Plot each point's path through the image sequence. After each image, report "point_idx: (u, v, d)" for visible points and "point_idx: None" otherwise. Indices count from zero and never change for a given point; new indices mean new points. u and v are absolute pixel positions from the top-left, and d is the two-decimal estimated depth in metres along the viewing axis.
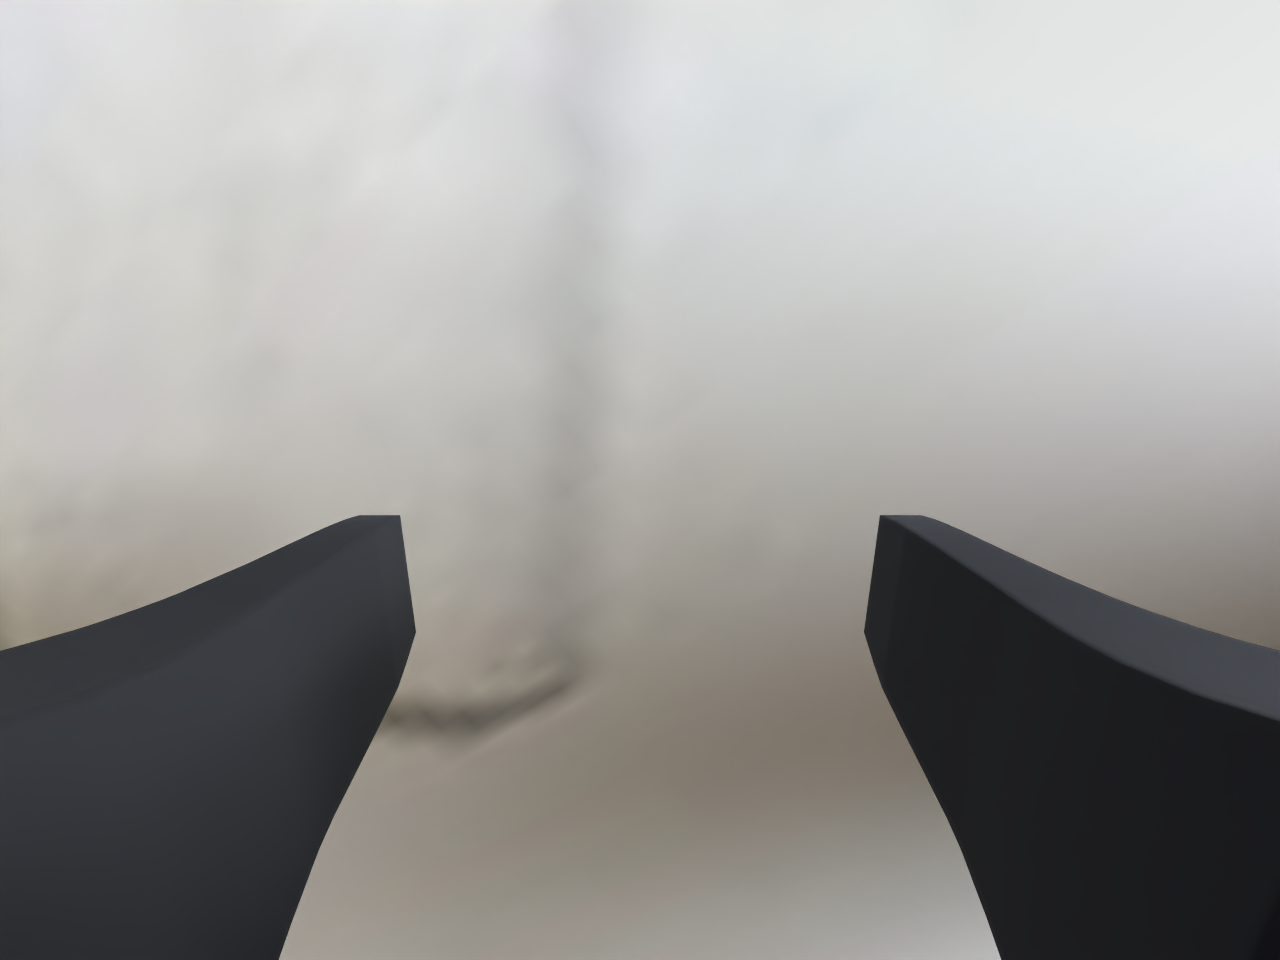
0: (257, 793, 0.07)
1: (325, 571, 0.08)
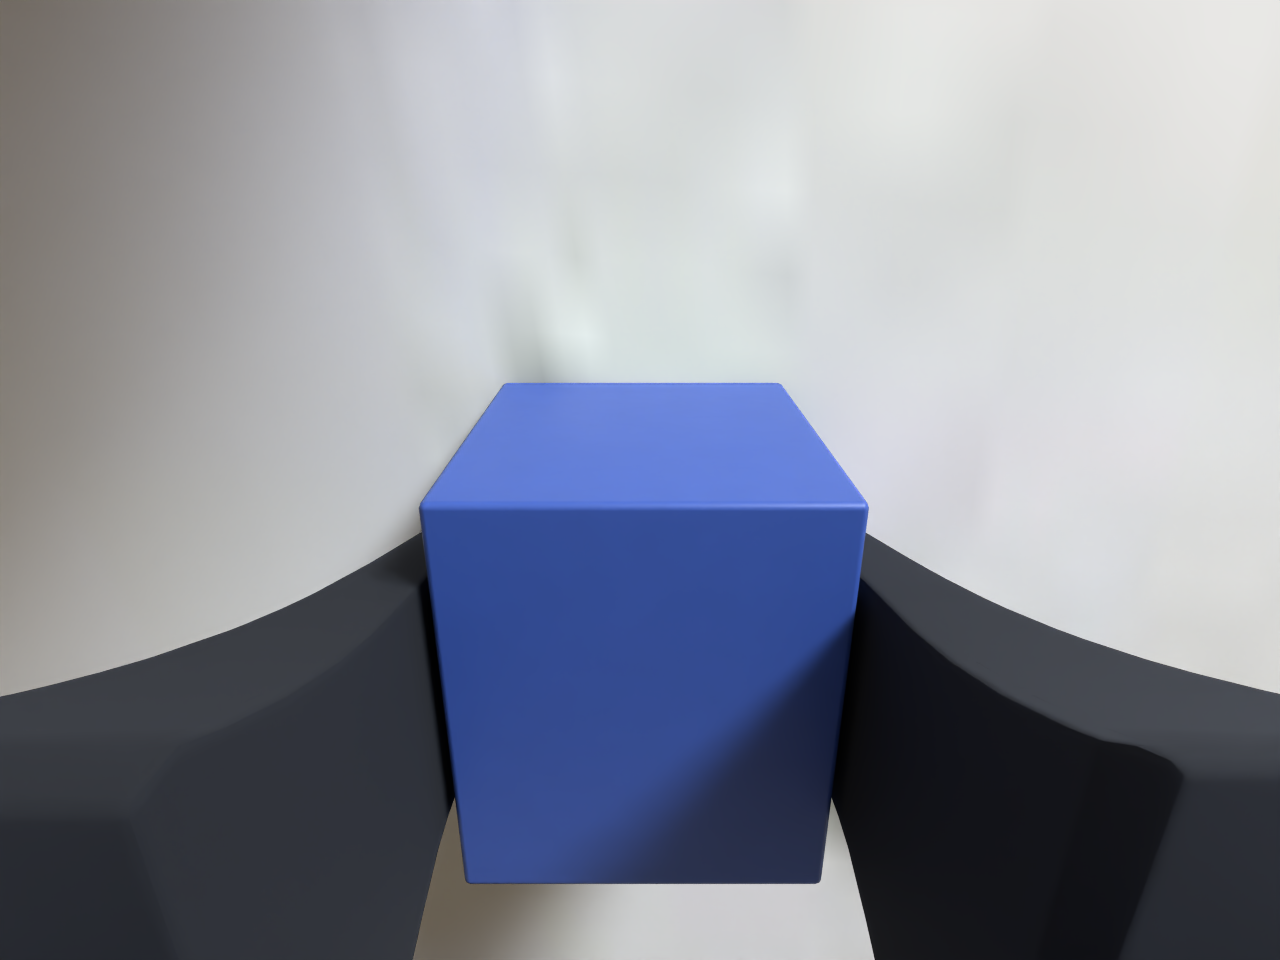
0: (399, 793, 0.07)
1: None
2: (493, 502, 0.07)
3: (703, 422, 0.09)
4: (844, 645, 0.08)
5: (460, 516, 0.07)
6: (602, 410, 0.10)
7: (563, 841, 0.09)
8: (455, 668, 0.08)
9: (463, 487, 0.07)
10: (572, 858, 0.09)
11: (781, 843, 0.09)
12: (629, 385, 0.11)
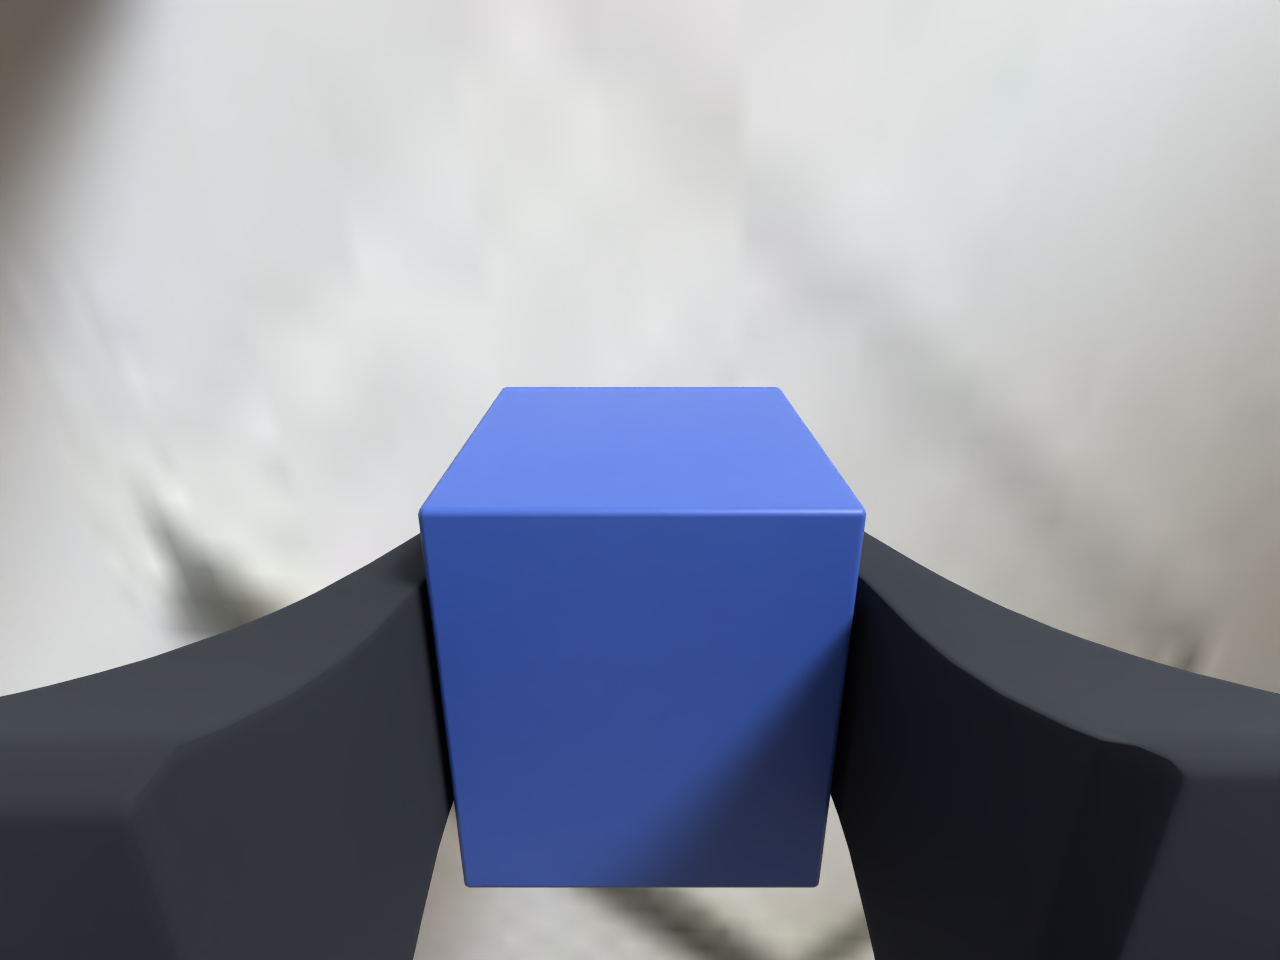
0: (399, 793, 0.07)
1: None
2: (492, 508, 0.07)
3: (701, 427, 0.10)
4: (841, 650, 0.08)
5: (459, 523, 0.07)
6: (601, 415, 0.10)
7: (561, 845, 0.09)
8: (454, 673, 0.08)
9: (462, 493, 0.07)
10: (571, 861, 0.09)
11: (779, 847, 0.09)
12: (628, 389, 0.11)
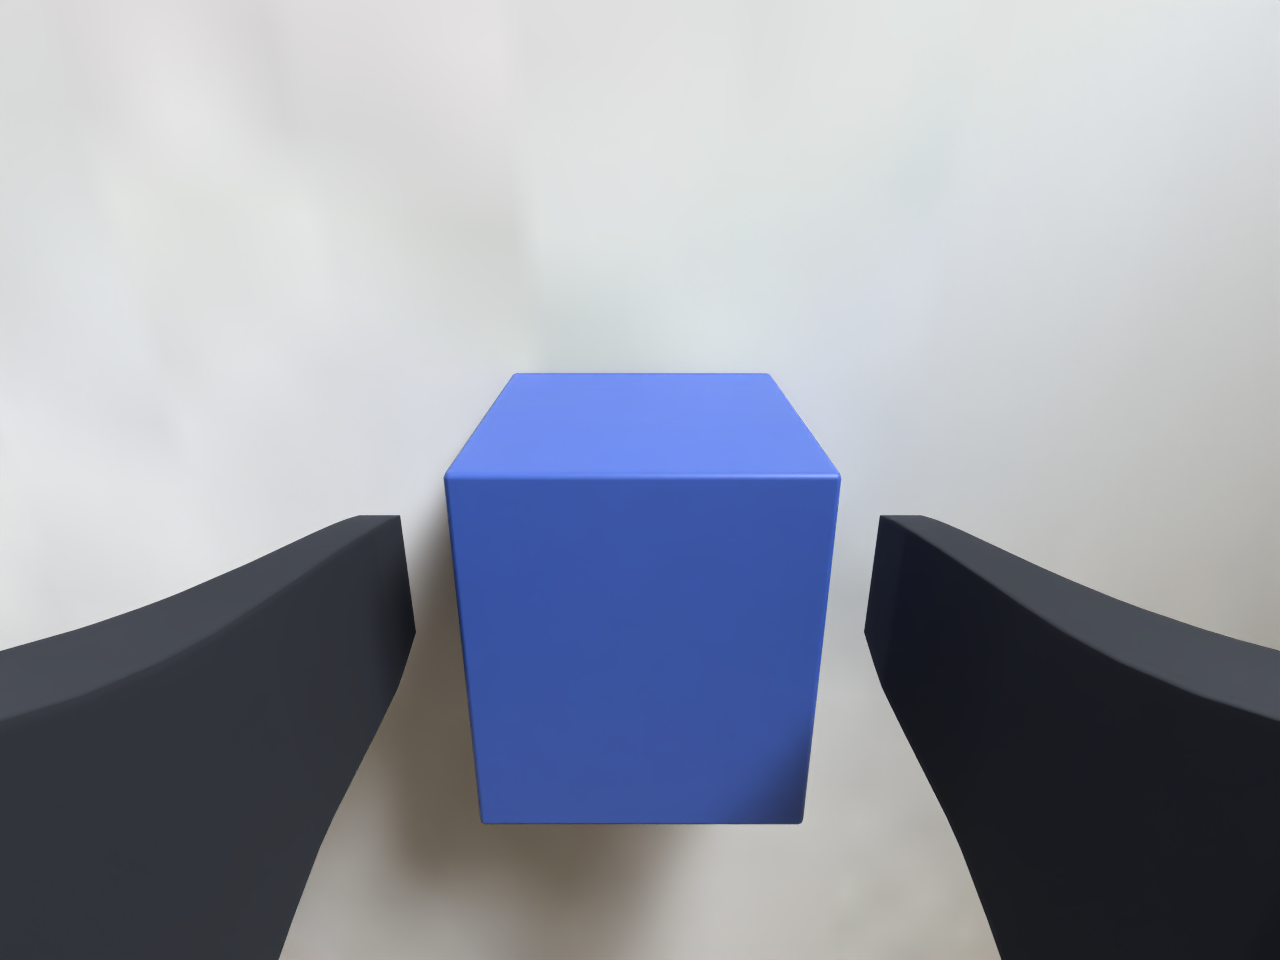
0: (257, 792, 0.07)
1: (325, 571, 0.08)
2: (508, 473, 0.08)
3: (696, 407, 0.10)
4: (821, 602, 0.09)
5: (479, 486, 0.08)
6: (604, 397, 0.11)
7: (568, 784, 0.10)
8: (474, 623, 0.09)
9: (482, 460, 0.08)
10: (578, 799, 0.10)
11: (766, 786, 0.10)
12: (629, 375, 0.12)
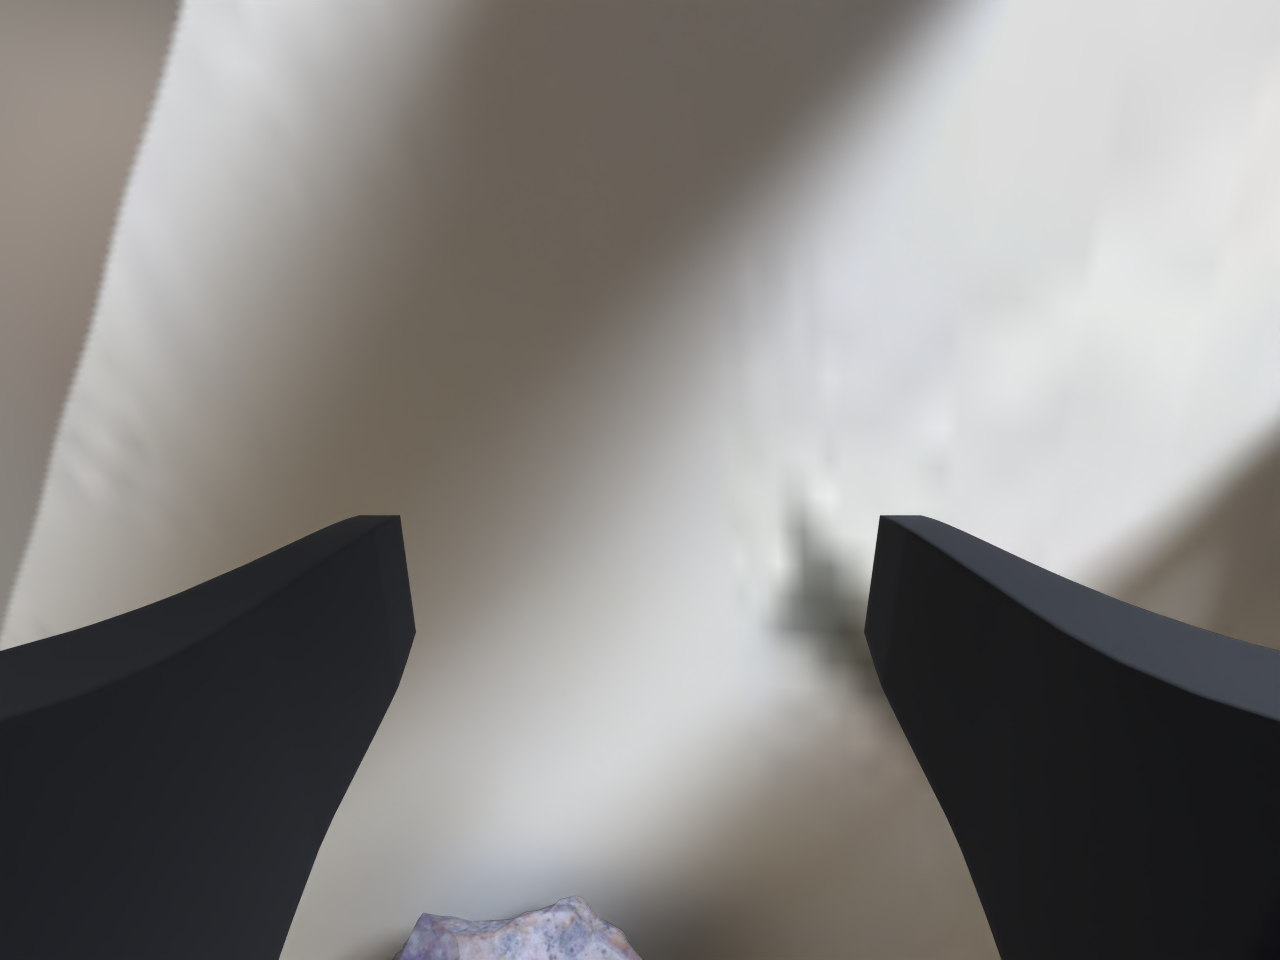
0: (257, 793, 0.07)
1: (325, 571, 0.08)
2: None
3: None
4: None
5: None
6: None
7: None
8: None
9: None
10: None
11: None
12: None
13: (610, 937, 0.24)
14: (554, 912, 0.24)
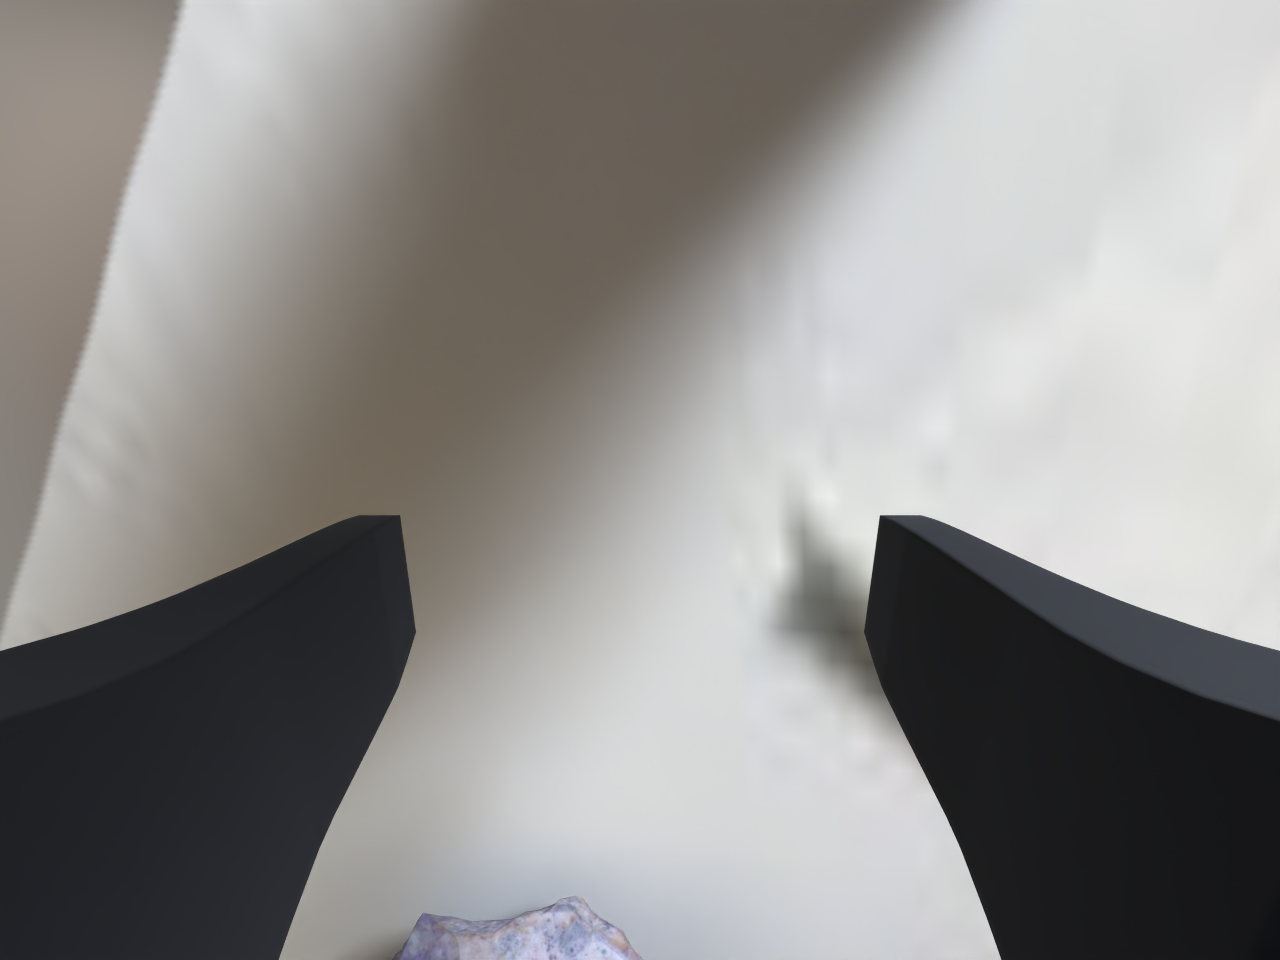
0: (257, 793, 0.07)
1: (325, 571, 0.08)
2: None
3: None
4: None
5: None
6: None
7: None
8: None
9: None
10: None
11: None
12: None
13: (610, 937, 0.24)
14: (554, 912, 0.24)
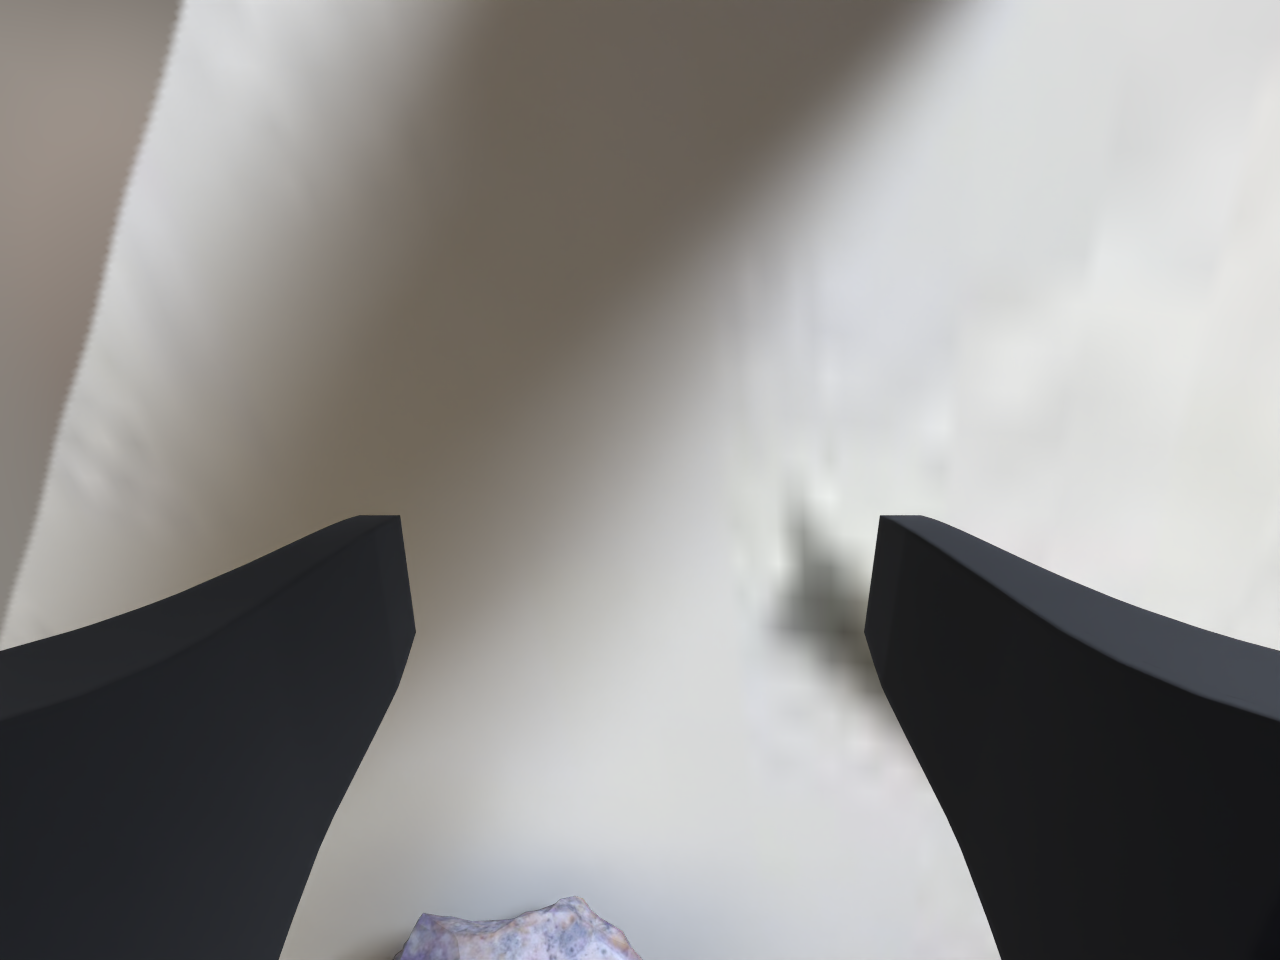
0: (257, 793, 0.07)
1: (325, 571, 0.08)
2: None
3: None
4: None
5: None
6: None
7: None
8: None
9: None
10: None
11: None
12: None
13: (610, 937, 0.24)
14: (554, 912, 0.24)
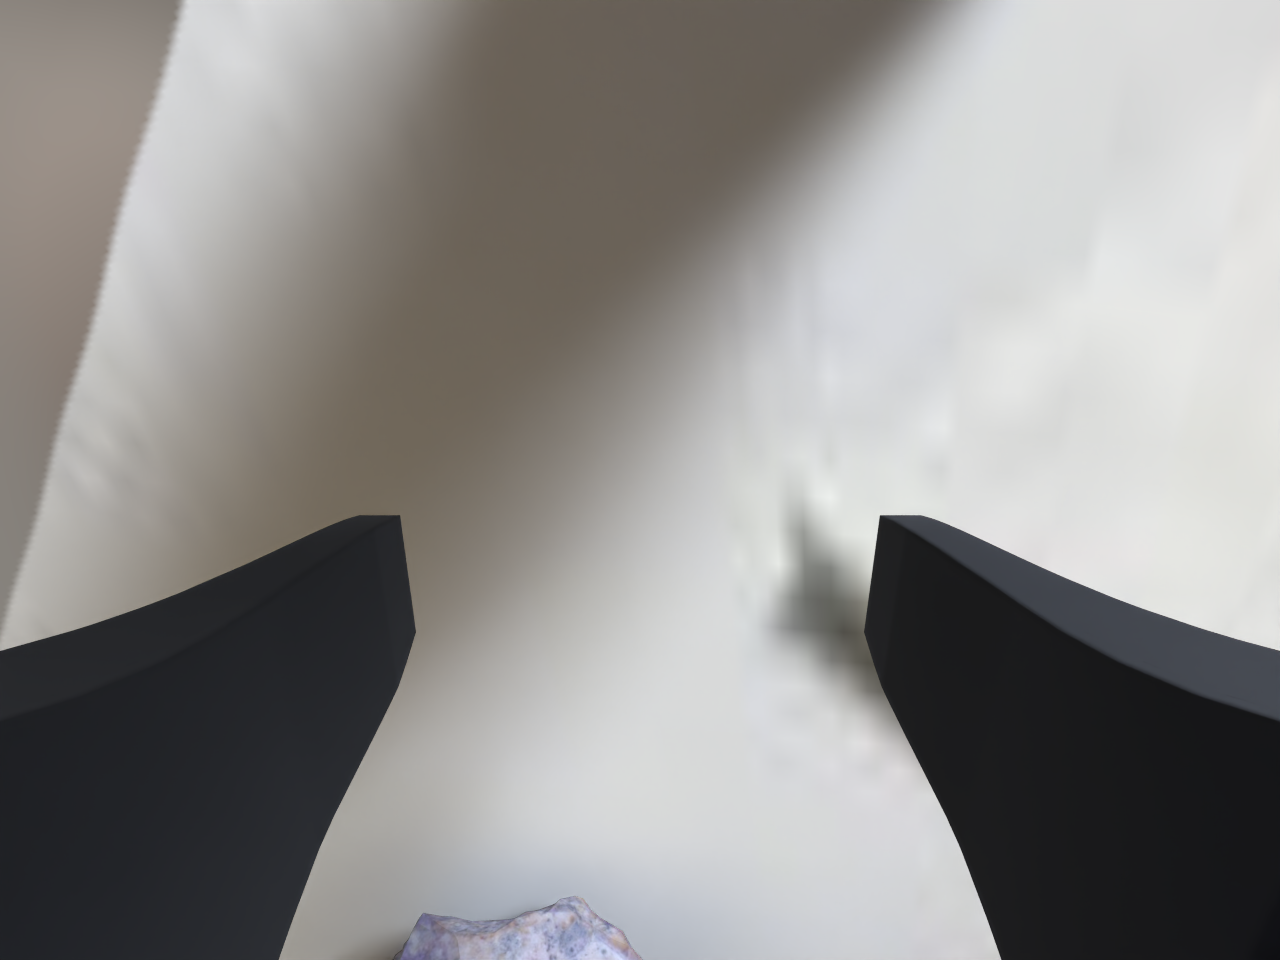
0: (257, 793, 0.07)
1: (325, 571, 0.08)
2: None
3: None
4: None
5: None
6: None
7: None
8: None
9: None
10: None
11: None
12: None
13: (610, 937, 0.24)
14: (554, 912, 0.24)
